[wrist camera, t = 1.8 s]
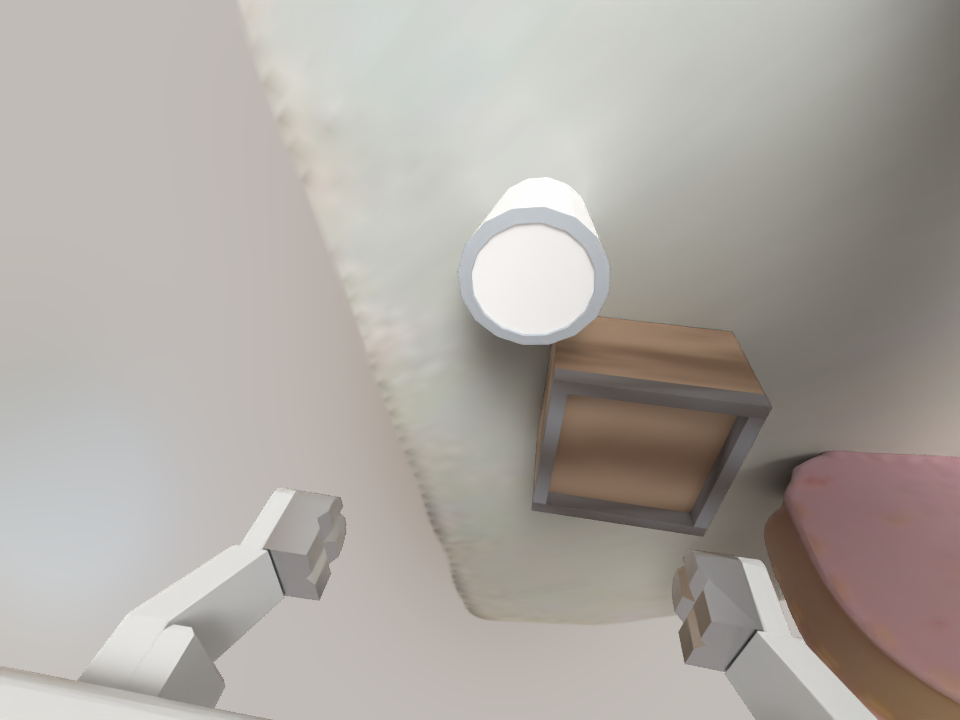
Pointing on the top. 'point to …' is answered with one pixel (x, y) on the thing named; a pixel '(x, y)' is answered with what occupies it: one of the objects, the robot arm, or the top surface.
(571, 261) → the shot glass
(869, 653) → the face sculpture
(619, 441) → the wooden box
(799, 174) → the top surface
